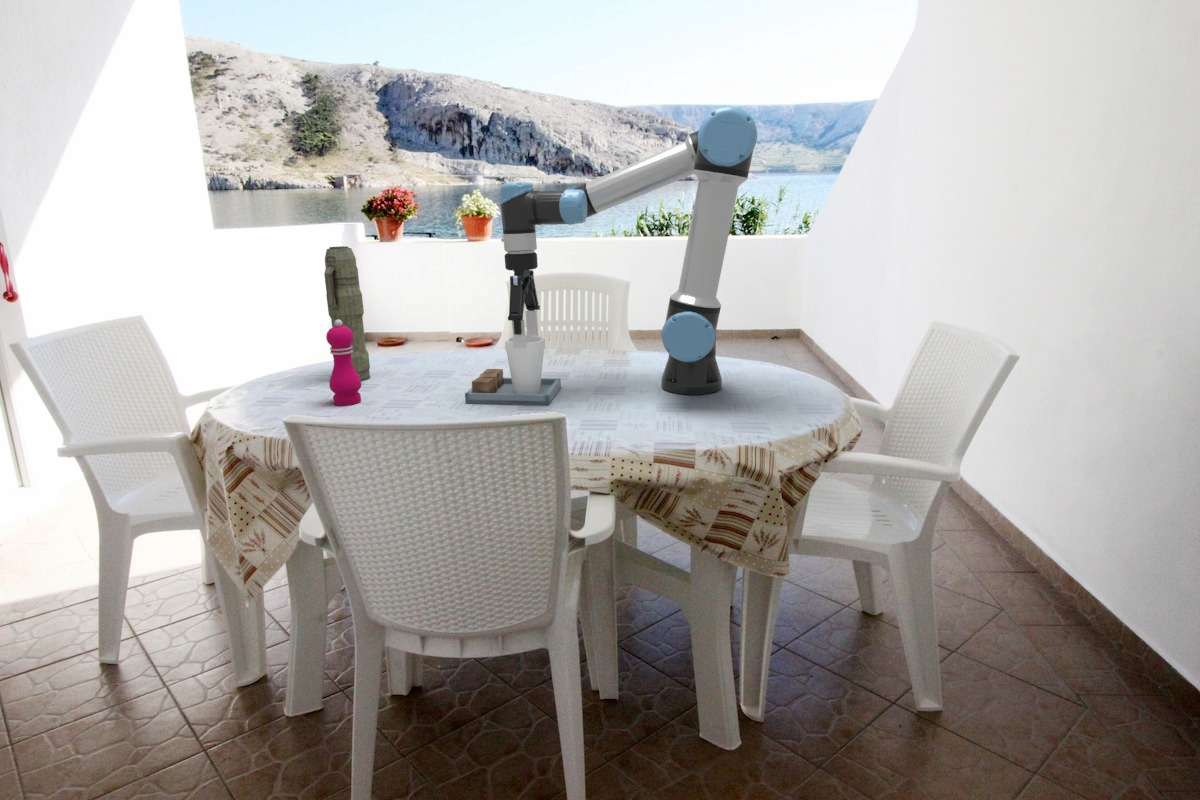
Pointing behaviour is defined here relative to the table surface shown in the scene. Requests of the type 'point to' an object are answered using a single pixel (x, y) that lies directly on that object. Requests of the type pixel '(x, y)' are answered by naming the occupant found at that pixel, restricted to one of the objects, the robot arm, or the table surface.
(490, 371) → the block
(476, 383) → the block
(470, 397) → the tray
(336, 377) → the pepper mill
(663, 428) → the table surface
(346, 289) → the carved stone statue
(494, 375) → the block
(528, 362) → the foam cup
